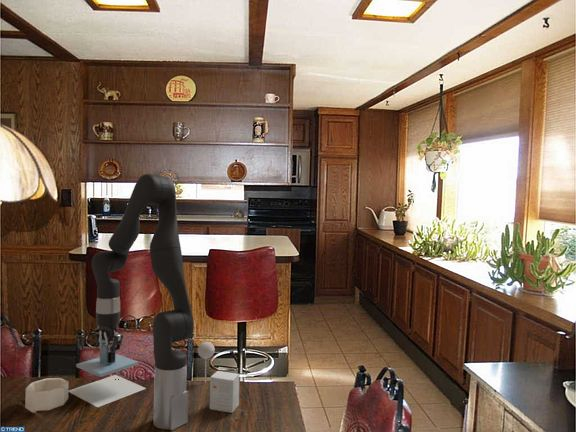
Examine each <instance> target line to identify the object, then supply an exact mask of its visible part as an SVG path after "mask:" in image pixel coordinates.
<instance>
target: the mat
mask: <svg viewBox="0 0 576 432" xmlns="http://www.w3.org/2000/svg"><path fill="white" fill-rule="evenodd" d="M115 379H116V380H115ZM118 379H119V380H118ZM143 390H144V391H145V390H147V388H146V387H144V386H141V385H140V384H138V383H135V382H133V381H131V380H128V379H126V378H124V377H123V376H122V377H121V376H119V375H117V374H113V375H111V376H108V377H105V378H102V379H99V380H96V381H93V382H90V383H87V384H85V385H81V386H78V387H75V388H73V389H68V393H70V394H71V395H74V396H75V397H78V398H79V399H81V400H82V401H85V402H86V403H89V404H91V406H94V407H96V408H100V407H103V406H105V405H107V404H110V403H113V402H115V401H118V400H121V399H124V398H125V397H128V396H131V395H133V394H136V393H138V392H141V391H143Z"/></svg>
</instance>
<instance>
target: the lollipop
mask: <svg viewBox="0 0 576 432" xmlns="http://www.w3.org/2000/svg"><path fill="white" fill-rule="evenodd" d="M215 350H216V349H215V346H214V345H213V343H212V342H209V341H203V342H201V343H200V344H199V346H198V347H197V353H198V356H199V357H200V358H202V359H204V384H206V383H207V361H208V360H207V359H210V358H212V356H214V354H215V352H216V351H215Z"/></svg>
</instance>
